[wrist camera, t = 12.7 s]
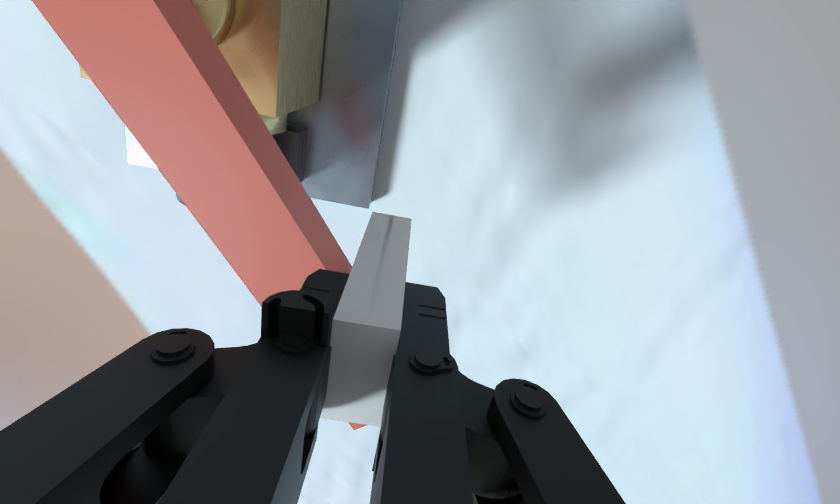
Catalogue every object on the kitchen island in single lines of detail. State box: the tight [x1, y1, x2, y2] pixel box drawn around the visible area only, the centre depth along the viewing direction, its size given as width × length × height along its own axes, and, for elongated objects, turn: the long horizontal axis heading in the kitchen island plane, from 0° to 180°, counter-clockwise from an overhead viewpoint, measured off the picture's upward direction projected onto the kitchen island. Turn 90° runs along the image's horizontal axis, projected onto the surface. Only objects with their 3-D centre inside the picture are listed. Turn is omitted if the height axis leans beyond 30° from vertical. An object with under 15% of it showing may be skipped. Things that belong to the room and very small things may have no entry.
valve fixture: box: [79, 0, 402, 209], centre depth 17 cm, size 18×14×10 cm
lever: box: [32, 0, 366, 430], centre depth 14 cm, size 17×3×4 cm, turn 25°
